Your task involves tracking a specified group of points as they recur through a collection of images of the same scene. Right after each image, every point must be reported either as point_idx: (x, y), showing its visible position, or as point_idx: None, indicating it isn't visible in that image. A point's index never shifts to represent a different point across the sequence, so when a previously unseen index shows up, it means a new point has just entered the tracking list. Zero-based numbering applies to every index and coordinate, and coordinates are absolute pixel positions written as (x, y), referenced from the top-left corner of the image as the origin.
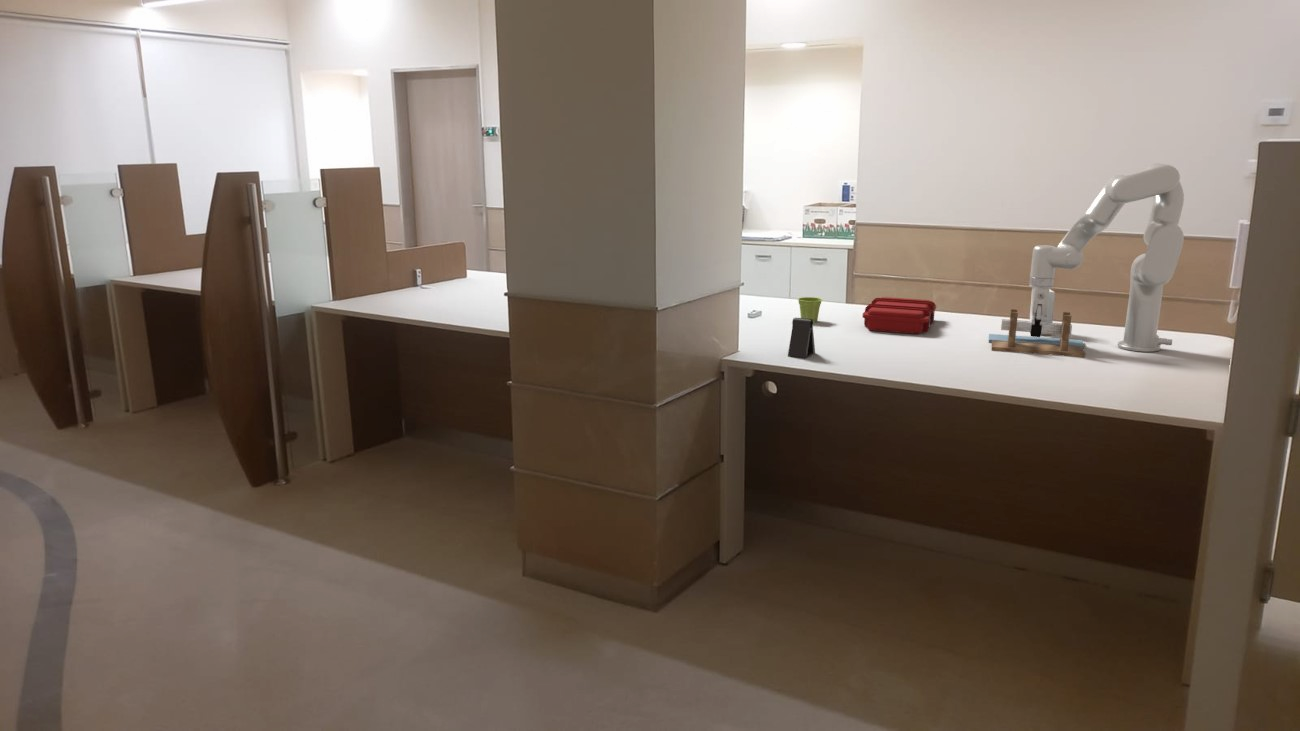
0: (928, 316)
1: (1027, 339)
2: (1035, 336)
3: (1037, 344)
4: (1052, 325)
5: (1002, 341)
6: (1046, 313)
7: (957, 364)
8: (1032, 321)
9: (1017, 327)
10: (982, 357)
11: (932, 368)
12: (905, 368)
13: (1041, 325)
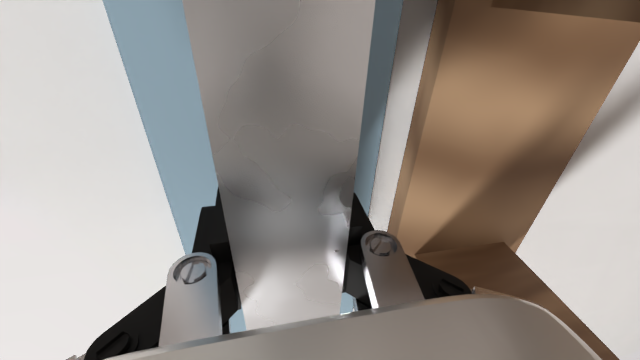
0: None
1: None
2: None
3: (438, 158)
4: (353, 129)
5: None
6: (596, 356)
7: (621, 307)
8: (260, 316)
9: None
10: (568, 285)
11: (635, 327)
12: (617, 351)
13: (355, 230)
